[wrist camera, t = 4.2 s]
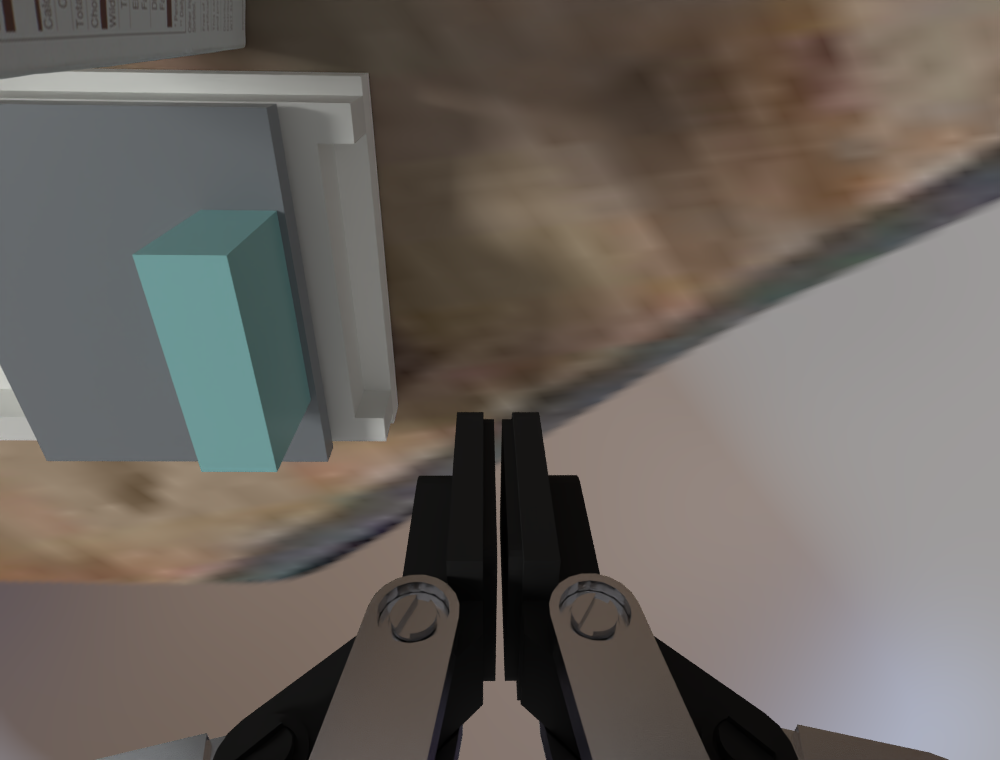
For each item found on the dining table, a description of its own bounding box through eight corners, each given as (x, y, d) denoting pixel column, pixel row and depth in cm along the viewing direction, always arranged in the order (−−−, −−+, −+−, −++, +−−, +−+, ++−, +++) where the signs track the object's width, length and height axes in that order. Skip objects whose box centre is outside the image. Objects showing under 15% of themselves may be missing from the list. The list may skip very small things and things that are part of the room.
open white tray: (368, 72, 18) (347, 81, 15) (398, 405, 24) (387, 452, 21) (-319, 62, 17) (-459, 69, 15) (-106, 404, 24) (-179, 450, 21)
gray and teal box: (276, 103, 15) (207, 130, 11) (333, 446, 21) (299, 538, 17) (-100, 98, 15) (-294, 123, 11) (61, 446, 21) (-32, 538, 17)
